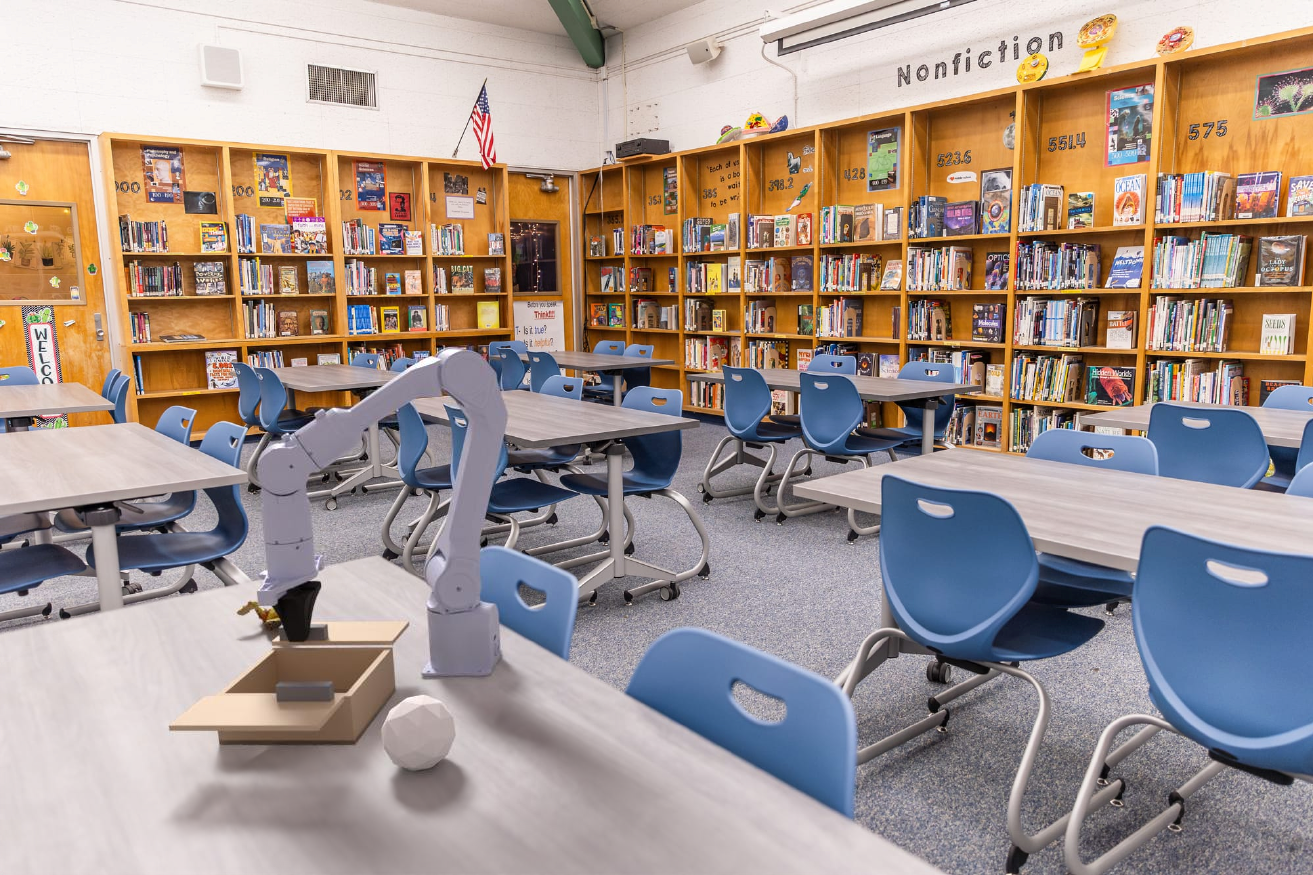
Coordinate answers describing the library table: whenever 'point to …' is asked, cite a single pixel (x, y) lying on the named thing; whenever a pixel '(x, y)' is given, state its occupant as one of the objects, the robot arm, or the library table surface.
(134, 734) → the library table surface
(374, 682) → the carton
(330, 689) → the left flap
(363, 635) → the right flap
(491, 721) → the library table surface
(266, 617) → the yellow dragon figurine
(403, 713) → the geometric ball
